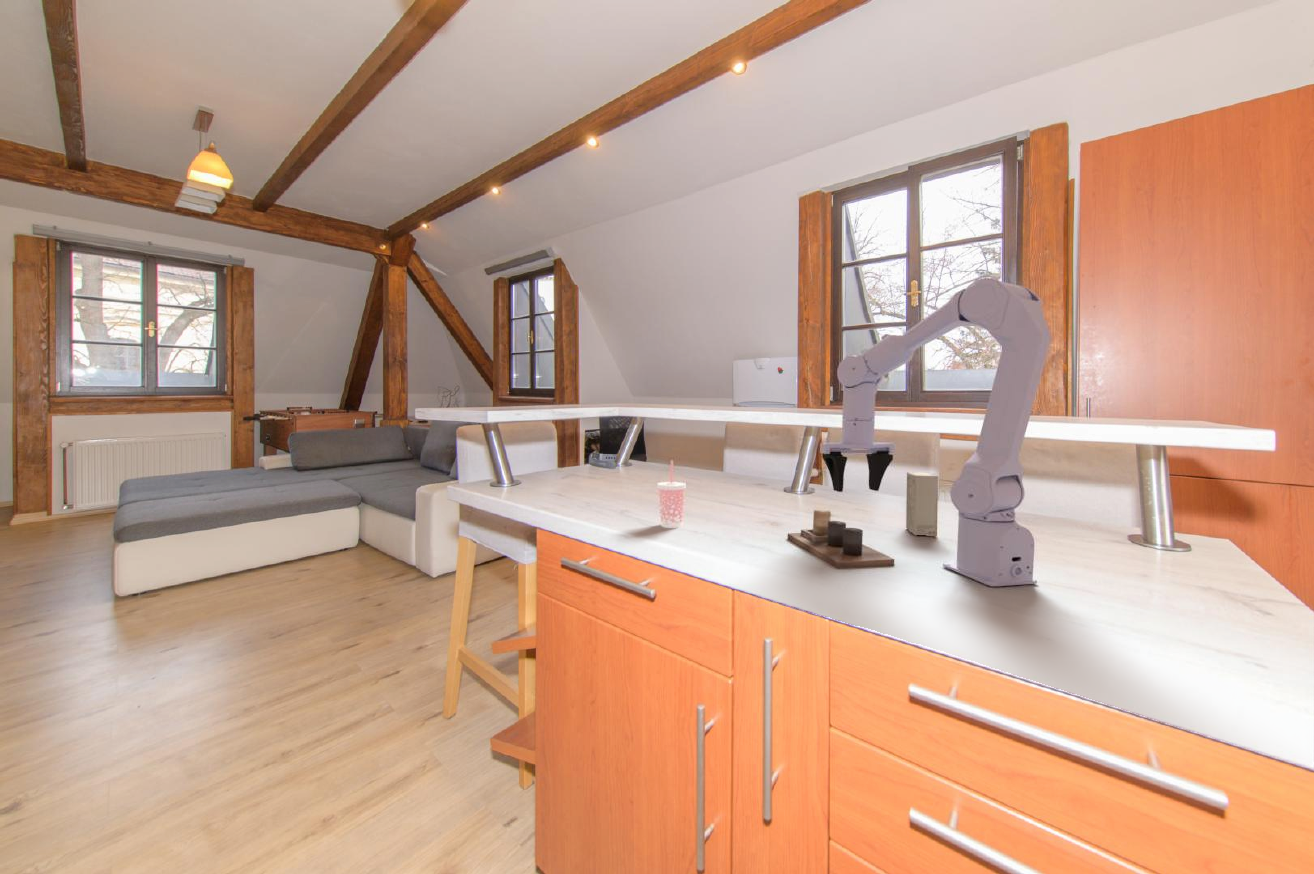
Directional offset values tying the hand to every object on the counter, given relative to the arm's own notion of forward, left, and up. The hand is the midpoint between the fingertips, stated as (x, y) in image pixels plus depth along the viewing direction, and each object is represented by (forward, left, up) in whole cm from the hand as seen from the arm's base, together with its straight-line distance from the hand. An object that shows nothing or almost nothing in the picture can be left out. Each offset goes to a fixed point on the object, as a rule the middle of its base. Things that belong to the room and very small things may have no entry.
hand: (856, 490), depth 96 cm
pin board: (-7, +8, -9) cm, 14 cm away
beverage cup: (+16, +33, -10) cm, 38 cm away
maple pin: (-2, +8, -8) cm, 12 cm away
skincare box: (+2, -16, -10) cm, 19 cm away
